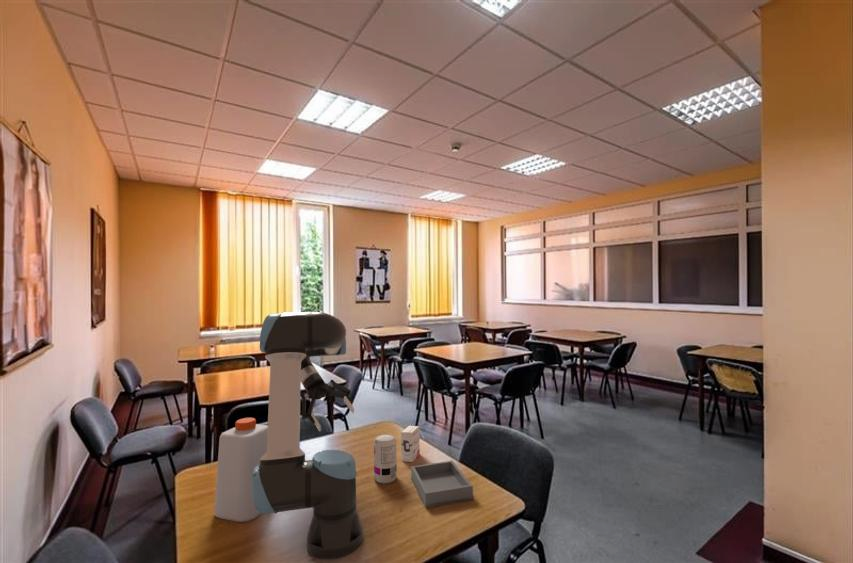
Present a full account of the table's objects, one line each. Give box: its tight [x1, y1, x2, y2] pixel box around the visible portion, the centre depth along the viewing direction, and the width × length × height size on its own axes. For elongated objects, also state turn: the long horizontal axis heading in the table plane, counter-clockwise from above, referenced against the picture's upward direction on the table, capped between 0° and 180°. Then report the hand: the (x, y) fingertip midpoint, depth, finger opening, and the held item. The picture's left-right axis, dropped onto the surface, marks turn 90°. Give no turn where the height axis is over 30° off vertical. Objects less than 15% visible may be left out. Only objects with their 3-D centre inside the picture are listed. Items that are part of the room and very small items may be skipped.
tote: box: [410, 460, 474, 509], centre depth 133 cm, size 20×16×4 cm
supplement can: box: [373, 433, 398, 484], centre depth 141 cm, size 8×8×15 cm
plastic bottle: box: [213, 417, 268, 523], centre depth 123 cm, size 15×15×28 cm
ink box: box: [400, 425, 421, 463], centre depth 159 cm, size 8×5×12 cm, turn 160°
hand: (337, 419), depth 143 cm, fingers open, 13 cm apart
